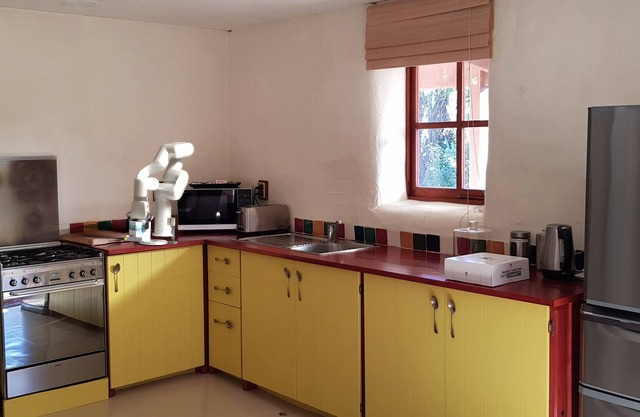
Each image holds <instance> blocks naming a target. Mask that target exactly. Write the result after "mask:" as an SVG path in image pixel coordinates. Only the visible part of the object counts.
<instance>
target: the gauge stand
mask: <svg viewBox="0 0 640 417" xmlns="http://www.w3.org/2000/svg"><path fill="white" fill-rule="evenodd" d="M167 225H169V226H171V227H172V230H171V233H172V236H171V240H170V241H168V244H169V243H170V245H176V244H178V241H177V240H175V226H176V218H175V217H171V218H169V217H168V218H167Z"/></svg>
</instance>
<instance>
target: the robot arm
mask: <svg viewBox="0 0 640 417" xmlns="http://www.w3.org/2000/svg"><path fill="white" fill-rule="evenodd" d="M194 151H195V147H194V145H193V144H192V143H190V142H181V141H172V142H170V143H163V144H162V145H160V147H159V149H158V151H157V153H155V154H156V155H155V156H154V157H153V160H152V161H151V162H149V163H147V164H146V165H145V166H144V167H142V168H141V169H140V171H139V172H138V173H137V175H136V177H135V178H134V180H133V201H132V203H131V207H130V208H131V209H130V211H128V212H126V213H125V215H126V218H127V219H128V220H127V221H128V222H130V221H135V219H138V220H145V221H146V223H145V230H147V229H149V222H150V223H151V221H152V220H153V219H154V232H151V235H152V236H154V237H172V226H169V225H167V218H168V217H169V218H172V205H171V204H172V203H171V202H170V201H177V200H180V199H181V197H182V196H183V194H184V191H185V189H186V188H187V185H188V183H189V178H190V176H189V174H188V172H187V171H186V170H184V169H183V165H184V164H183V161H182V159H183V158H188V157H191V156H192V155H193V154H194ZM164 170H165V171H164ZM162 171H164V173H163V176H162V181H163V182H162V183H160V182H159V180H158V179H157V178H155V177H150V176H151V175H153V174H157V173H159V172H162ZM148 191H153V196H154V197H153V198H154V214H152V213H151V212H150V205H149V202H148V201H149V200H150V198H149V197H148Z"/></svg>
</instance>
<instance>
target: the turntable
mask: <svg viewBox="0 0 640 417" xmlns="http://www.w3.org/2000/svg"><path fill="white" fill-rule="evenodd" d="M123 239H124V241H129V242H138V243H139V244H142V245H146V246H147V245H148V246H160V245H168V244H169V241H167V240H164V239H151V238H150V240H142V237H135V236H129V235H127V234H126V235H124V238H123Z"/></svg>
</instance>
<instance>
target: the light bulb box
mask: <svg viewBox="0 0 640 417" xmlns="http://www.w3.org/2000/svg"><path fill="white" fill-rule="evenodd" d="M128 222H129V226H128V231H129V232H128V234H129V235H128V236H135V237H142V240H150V239H151V221H150V222H149V229H147V230H145V223H146V221H145V220H144V219H140V220H133V221H128Z"/></svg>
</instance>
